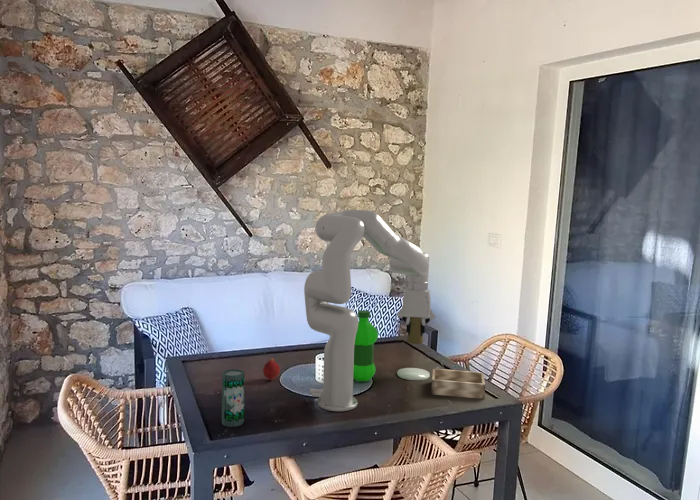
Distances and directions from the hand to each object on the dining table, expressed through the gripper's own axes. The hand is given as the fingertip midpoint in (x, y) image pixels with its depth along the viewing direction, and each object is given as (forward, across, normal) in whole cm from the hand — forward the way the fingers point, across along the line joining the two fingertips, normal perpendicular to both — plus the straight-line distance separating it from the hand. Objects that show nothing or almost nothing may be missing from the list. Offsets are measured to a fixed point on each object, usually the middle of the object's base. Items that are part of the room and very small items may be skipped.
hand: (415, 334), depth 214 cm
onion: (+16, -49, -19) cm, 55 cm away
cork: (+3, 0, 0) cm, 3 cm away
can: (+15, -49, -56) cm, 76 cm away
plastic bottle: (+16, -18, -10) cm, 26 cm away
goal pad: (+15, 0, 0) cm, 15 cm away
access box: (+15, +16, -12) cm, 25 cm away
